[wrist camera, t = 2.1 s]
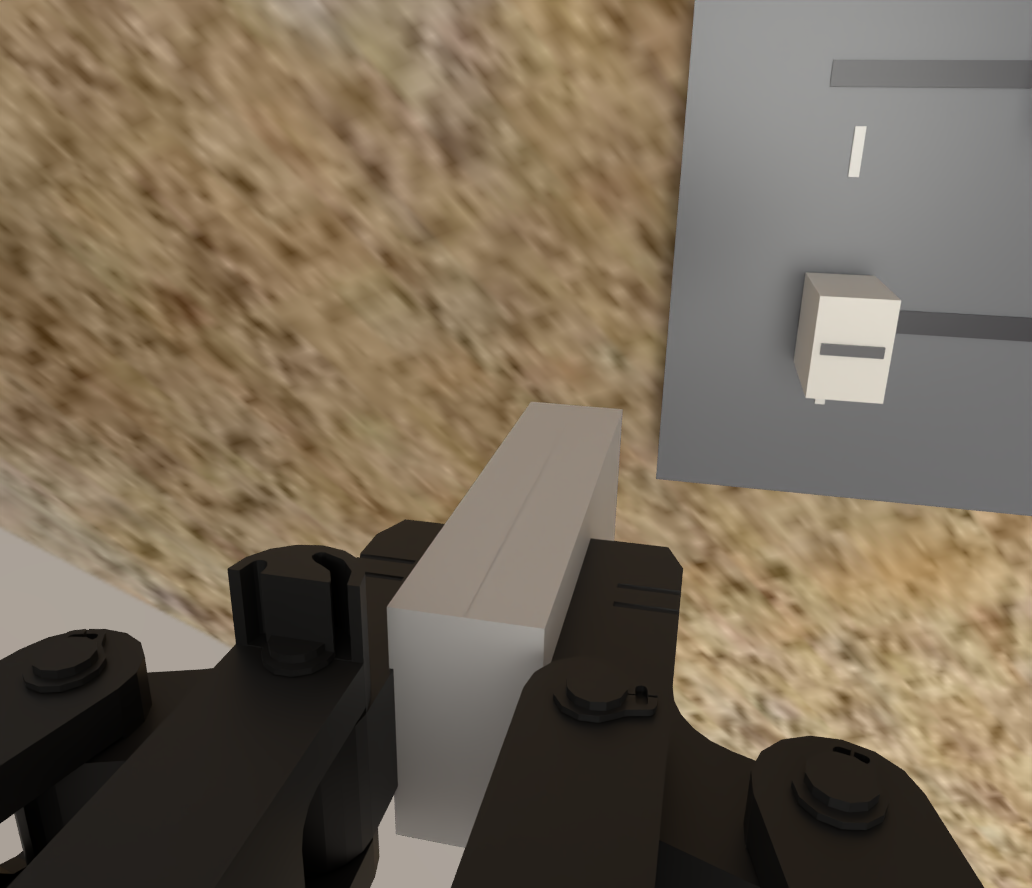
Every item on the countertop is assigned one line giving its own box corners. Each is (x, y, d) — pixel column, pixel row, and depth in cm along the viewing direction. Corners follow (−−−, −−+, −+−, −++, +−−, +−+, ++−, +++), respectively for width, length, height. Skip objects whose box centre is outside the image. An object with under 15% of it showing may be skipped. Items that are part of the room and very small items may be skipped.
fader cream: (793, 361, 27) (805, 398, 23) (805, 272, 26) (820, 296, 22) (859, 365, 27) (883, 404, 23) (874, 275, 26) (901, 301, 22)
